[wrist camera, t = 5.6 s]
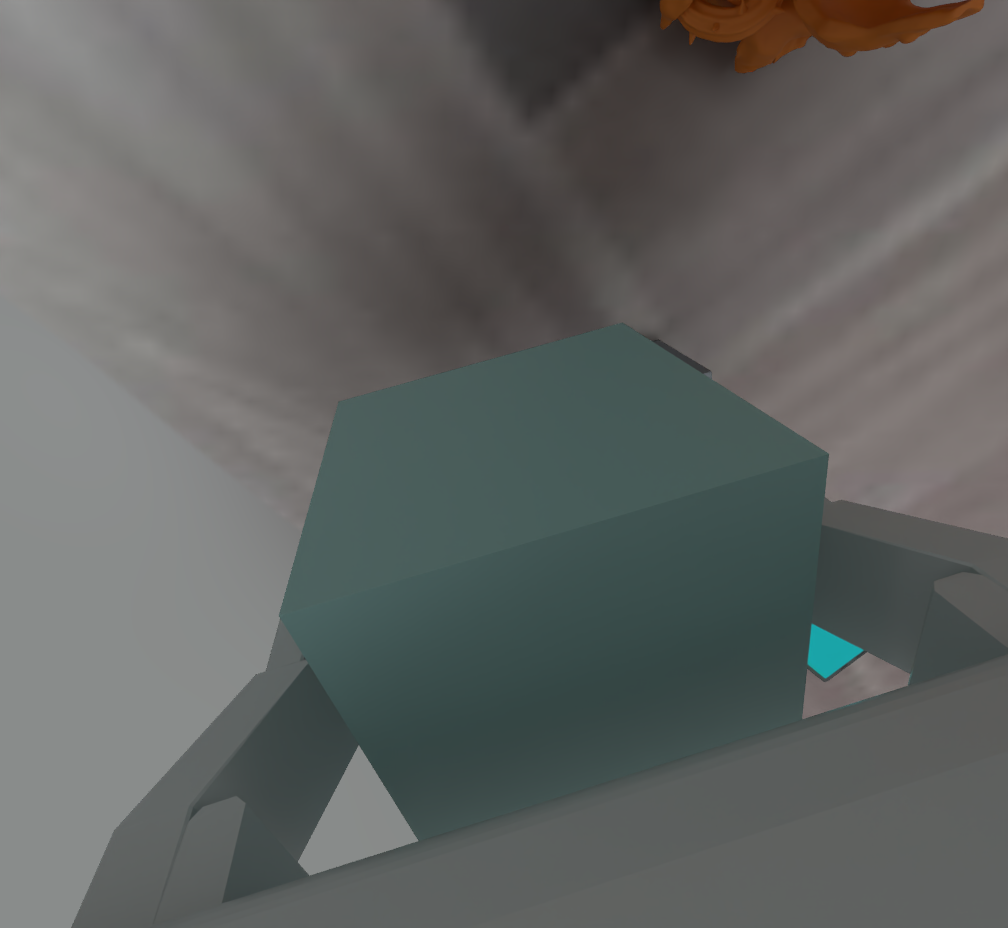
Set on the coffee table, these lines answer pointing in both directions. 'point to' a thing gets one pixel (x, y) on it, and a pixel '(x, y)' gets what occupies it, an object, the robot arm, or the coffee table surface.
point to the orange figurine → (808, 24)
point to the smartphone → (830, 654)
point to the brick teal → (555, 574)
